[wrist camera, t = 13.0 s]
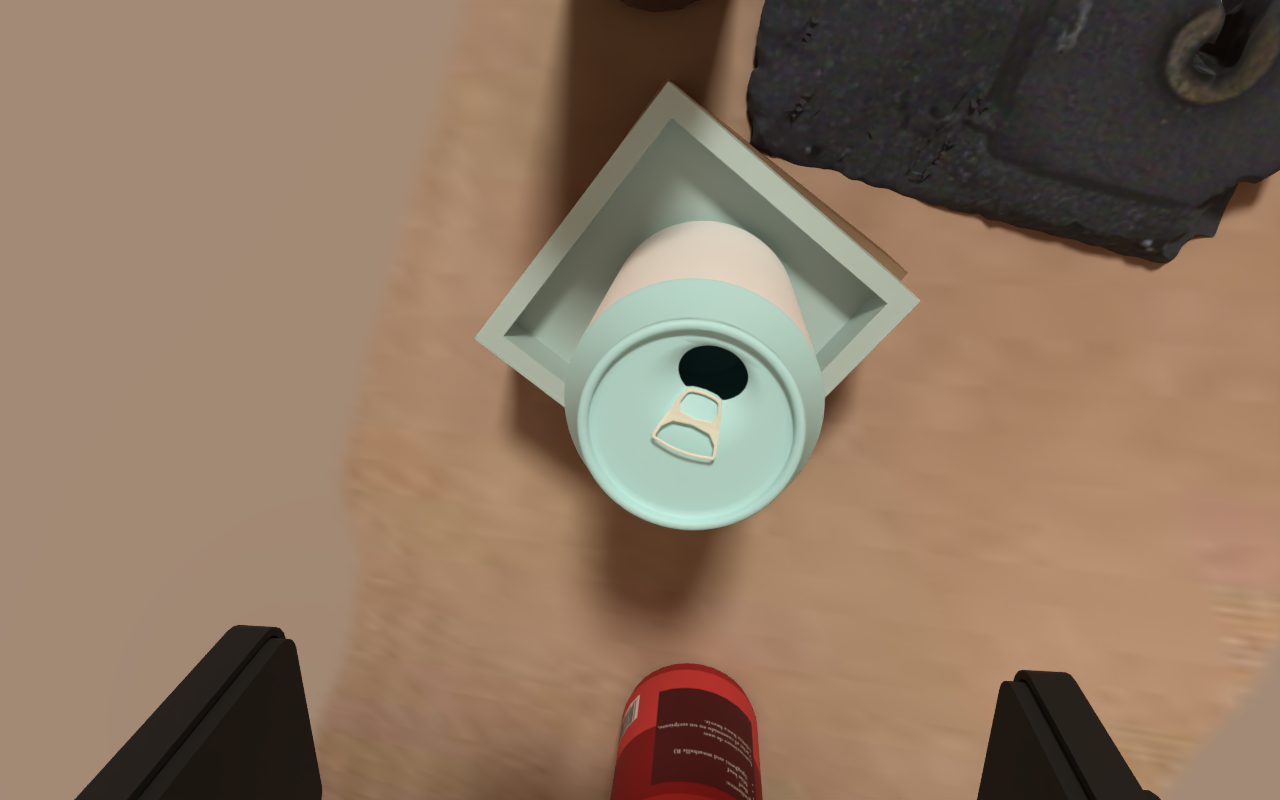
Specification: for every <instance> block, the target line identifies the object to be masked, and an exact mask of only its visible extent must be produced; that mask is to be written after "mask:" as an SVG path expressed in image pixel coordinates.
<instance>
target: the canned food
mask: <svg viewBox="0 0 1280 800" xmlns="http://www.w3.org/2000/svg"><path fill="white" fill-rule="evenodd" d="M610 800H762V786H761V773H760V759H759V746H758V732H757V722H756V716H755V713H754V711H753V708H752V706H751V704H750V702H749V700H748V698H747V696H746V694H745V693H744V691H743V690H742V688H741V687H740V686H739V685H738V684H737V683H736V682H735V681H734V680H733V679H731V678H730V677H728V676H727V675H726V674H724V673H722V672H720V671H718V670H716V669H714V668H711V667H707V666H703V665H698V664H675V665H671V666H667V667H663V668H661V669H659V670H657V671H654V672H653V673H651V674H650V675H648V676H647V677H645V678H644V679H643V680H642V681H641V682H640V683H639V685H638V686H637V687H636V689H635V690H634V692H633V693H632V695H631V697H630V699H629V700H628V702H627V704H626V707H625V711H624V714H623V721H622V727H621V734H620V740H619V747H618V753H617V760H616V766H615V773H614V780H613V786H612V793H611V799H610Z"/></svg>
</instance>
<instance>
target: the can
mask: <svg viewBox="0 0 1280 800" xmlns="http://www.w3.org/2000/svg"><path fill="white" fill-rule="evenodd" d="M564 404H565V414H566V420H567V424H568V428H569V432H570V435H571V438H572V440H573V443H574V445H575V447H576V450H577V452H578V454H579V455H580V457H581V459H582V460H583V462H584V464H585V465H586V466H587V468H588V470H589V471H590V473H591V475H592V476H593V478H594V479H595V481H596V482H597V484H598V485H599V486H600V488H601V489H602V490H603V491H604V492H605V493H606V494H607V495H608V496H609V497H610V498H611V499H612V500H613V501H614V502H615V503H617V504H618V505H619V506H621V507H622V508H623V509H625V510H626V511H628V512H629V513H631V514H633V515H635V516H637V517H639V518H640V519H643V520H645V521H648V522H650V523H653V524H656V525H659V526H663V527H667V528H672V529H679V530H708V529H715V528H720V527H725V526H728V525H731V524H735V523H737V522H740V521H742V520H744V519H746V518H748V517H750V516H752V515H754V514H756V513H757V512H759V511H760V510H762V509H763V508H765V507H766V506H767V505H769V504H770V503H771V502H772V501H773V500H774V499H775V498H776V497H777V496H778V495H779V494H780V493H781V492H782V491H783V490H784V489H785V488H786V487H787V486H788V485H789V484H790V483H791V482H792V481H793V480H794V479H795V478H796V477H797V475H798V474H799V473H800V472H801V470H802V469H803V467H804V466H805V464H806V463H807V461H808V459H809V458H810V456H811V454H812V452H813V450H814V448H815V445H816V443H817V441H818V438H819V435H820V432H821V428H822V423H823V418H824V408H825V393H824V384H823V379H822V374H821V370H820V367H819V364H818V361H817V358H816V355H815V352H814V349H813V346H812V343H811V340H810V338H809V335H808V332H807V329H806V326H805V323H804V320H803V317H802V314H801V311H800V308H799V305H798V302H797V299H796V296H795V293H794V290H793V288H792V285H791V282H790V279H789V276H788V274H787V272H786V270H785V268H784V266H783V265H782V263H781V261H780V260H779V259H778V257H777V256H776V255H775V253H774V252H773V251H772V250H771V249H770V248H769V247H768V246H767V245H766V244H765V243H763V242H762V241H761V240H760V239H758V238H757V237H755V236H754V235H752V234H750V233H749V232H747V231H745V230H743V229H741V228H738V227H736V226H733V225H730V224H726V223H721V222H715V221H690V222H685V223H680V224H677V225H673V226H670V227H668V228H665V229H663V230H661V231H659V232H657V233H655V234H654V235H652V236H651V237H649V238H648V239H646V240H645V241H644V242H642V243H641V244H640V245H639V246H638V247H637V248H636V249H635V250H634V251H633V252H632V253H631V255H630V256H629V257H628V258H627V260H626V261H625V263H624V264H623V266H622V268H621V269H620V271H619V273H618V275H617V276H616V278H615V280H614V282H613V283H612V285H611V287H610V289H609V290H608V292H607V294H606V295H605V297H604V299H603V301H602V302H601V304H600V306H599V308H598V309H597V311H596V313H595V315H594V316H593V318H592V320H591V322H590V323H589V325H588V327H587V329H586V330H585V332H584V334H583V336H582V337H581V339H580V341H579V343H578V345H577V347H576V348H575V351H574V353H573V355H572V358H571V360H570V364H569V367H568V371H567V375H566V381H565V391H564Z"/></svg>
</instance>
